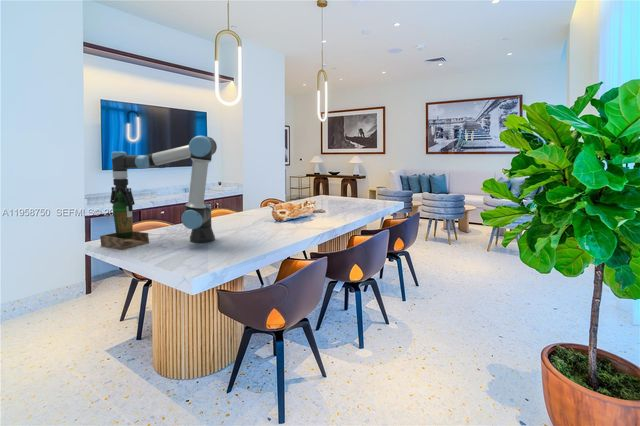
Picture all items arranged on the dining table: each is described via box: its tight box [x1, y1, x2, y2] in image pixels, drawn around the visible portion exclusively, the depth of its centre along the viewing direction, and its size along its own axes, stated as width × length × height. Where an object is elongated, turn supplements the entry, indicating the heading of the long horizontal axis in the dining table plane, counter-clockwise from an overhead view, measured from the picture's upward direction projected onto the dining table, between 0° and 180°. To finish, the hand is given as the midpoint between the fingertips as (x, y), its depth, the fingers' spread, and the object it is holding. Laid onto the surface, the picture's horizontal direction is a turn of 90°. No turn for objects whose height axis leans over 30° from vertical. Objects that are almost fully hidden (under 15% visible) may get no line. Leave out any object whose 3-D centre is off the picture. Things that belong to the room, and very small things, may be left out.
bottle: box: [111, 191, 134, 239], centre depth 215 cm, size 11×11×28 cm
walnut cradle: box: [99, 230, 150, 251], centre depth 217 cm, size 18×18×6 cm
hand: (123, 216), depth 215 cm, fingers closed on bottle, 10 cm apart
